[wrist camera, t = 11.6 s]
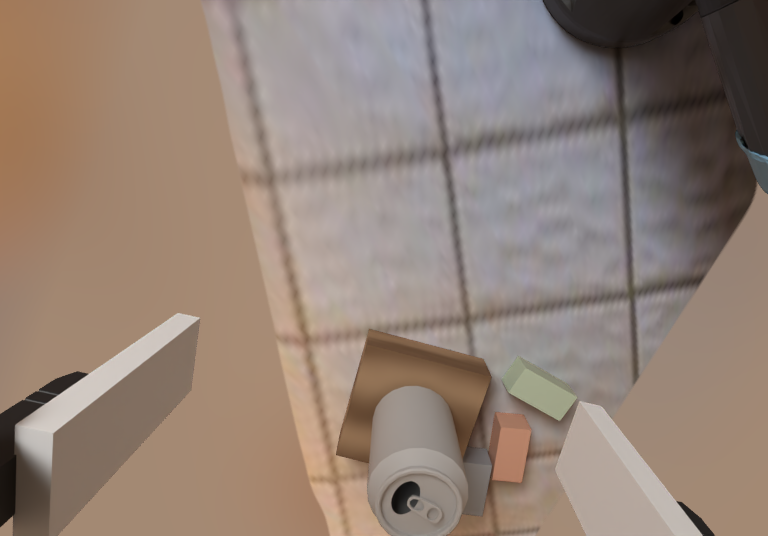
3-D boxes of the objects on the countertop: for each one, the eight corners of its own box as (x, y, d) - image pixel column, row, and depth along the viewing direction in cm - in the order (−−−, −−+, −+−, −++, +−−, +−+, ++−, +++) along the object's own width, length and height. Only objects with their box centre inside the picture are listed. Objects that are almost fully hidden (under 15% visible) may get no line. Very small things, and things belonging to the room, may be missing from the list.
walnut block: (369, 328, 46) (366, 344, 42) (483, 359, 47) (491, 376, 43) (340, 431, 49) (335, 454, 45) (448, 459, 49) (453, 484, 45)
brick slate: (458, 444, 49) (462, 462, 46) (486, 447, 49) (492, 465, 46) (450, 492, 50) (453, 513, 47) (477, 496, 50) (482, 516, 48)
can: (392, 368, 43) (392, 446, 31) (465, 399, 43) (491, 487, 32) (360, 434, 44) (348, 531, 33) (430, 463, 45) (443, 568, 33)
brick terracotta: (494, 411, 48) (501, 427, 45) (523, 413, 48) (531, 430, 45) (486, 461, 49) (492, 479, 47) (514, 463, 49) (521, 482, 47)
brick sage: (501, 378, 47) (508, 392, 44) (517, 355, 47) (525, 367, 44) (549, 405, 48) (559, 421, 45) (566, 382, 47) (577, 397, 44)
